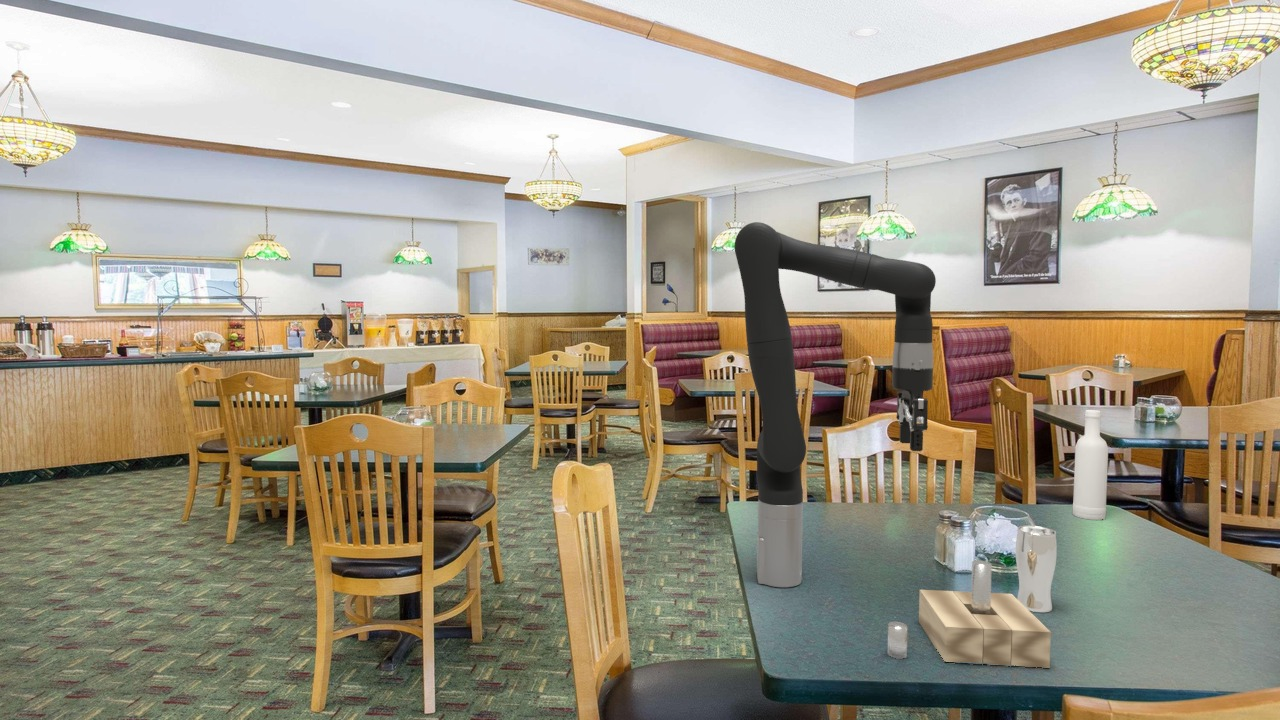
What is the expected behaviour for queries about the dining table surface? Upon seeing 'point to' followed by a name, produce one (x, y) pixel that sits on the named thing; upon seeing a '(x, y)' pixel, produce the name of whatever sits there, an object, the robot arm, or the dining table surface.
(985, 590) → the long steel pin
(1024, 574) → the beer glass
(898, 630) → the short steel pin
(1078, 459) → the bottle
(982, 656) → the oak hole block
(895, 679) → the dining table surface
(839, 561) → the dining table surface
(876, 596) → the dining table surface
